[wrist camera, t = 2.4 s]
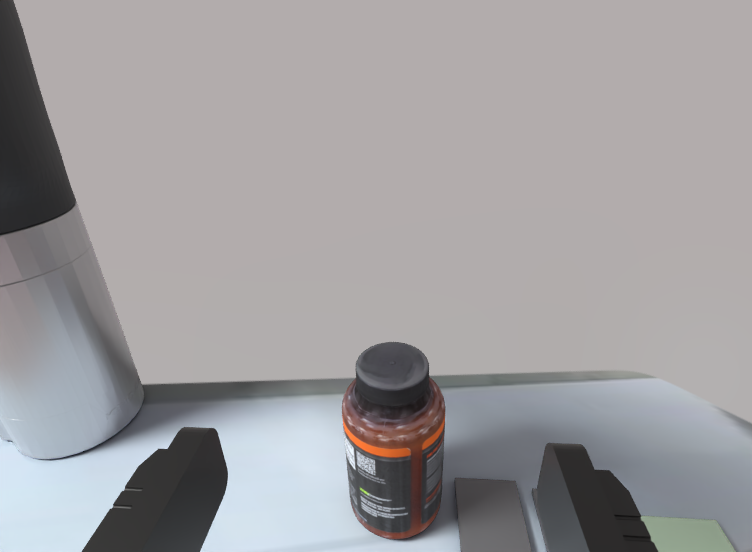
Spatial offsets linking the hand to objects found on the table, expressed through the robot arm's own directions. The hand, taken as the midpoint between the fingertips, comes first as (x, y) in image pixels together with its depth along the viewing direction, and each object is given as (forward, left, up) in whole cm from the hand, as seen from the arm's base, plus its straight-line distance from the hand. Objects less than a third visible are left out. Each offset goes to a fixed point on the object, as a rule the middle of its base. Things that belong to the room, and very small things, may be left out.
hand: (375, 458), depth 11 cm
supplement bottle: (0, +11, -18) cm, 21 cm away
